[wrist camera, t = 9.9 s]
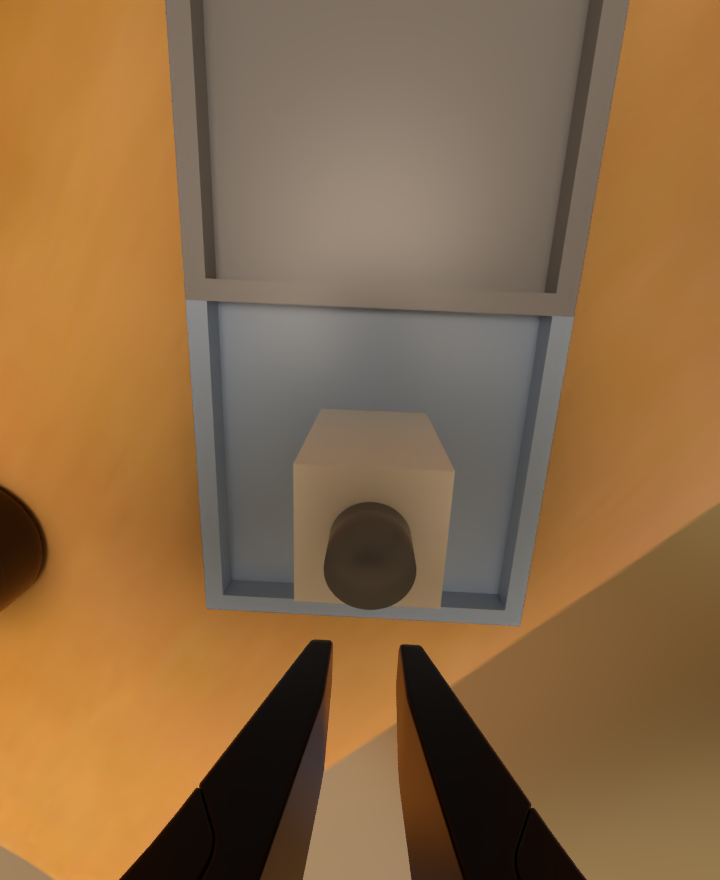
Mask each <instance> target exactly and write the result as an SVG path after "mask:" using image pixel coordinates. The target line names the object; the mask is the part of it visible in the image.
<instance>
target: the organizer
mask: <svg viewBox="0 0 720 880" xmlns="http://www.w3.org/2000/svg"><path fill="white" fill-rule="evenodd" d="M165 5H166V20H167V35H168V49H169V64H170V79H171V93H172V108H173V123H174V137H175V152H176V167H177V181H178V196H179V211H180V225H181V240H182V255H183V269H184V284H185V299H186V313H187V328H188V343H189V357H190V372H191V387H192V401H193V416H194V431H195V445H196V460H197V475H198V489H199V504H200V519H201V533H202V548H203V563H204V577H205V592H206V607H207V609H218V610H236V611H254V612H272V613H290V614H309V615H327V616H345V617H363V618H381V619H399V620H418V621H436V622H454V623H472V624H490V625H508V626H520V624H521V618H522V612H523V607H524V601H525V595H526V589H527V584H528V578H529V572H530V567H531V561H532V555H533V549H534V544H535V538H536V532H537V527H538V521H539V515H540V509H541V504H542V498H543V492H544V487H545V481H546V475H547V469H548V464H549V458H550V452H551V446H552V441H553V435H554V429H555V424H556V418H557V412H558V406H559V401H560V395H561V389H562V384H563V378H564V372H565V366H566V361H567V355H568V349H569V343H570V338H571V332H572V326H573V321H574V315H575V309H576V303H577V298H578V292H579V286H580V281H581V275H582V269H583V263H584V258H585V252H586V246H587V240H588V235H589V229H590V223H591V218H592V212H593V206H594V200H595V195H596V189H597V183H598V178H599V172H600V166H601V160H602V155H603V149H604V143H605V138H606V132H607V126H608V120H609V115H610V109H611V103H612V97H613V92H614V86H615V80H616V75H617V69H618V63H619V57H620V52H621V46H622V40H623V35H624V29H625V23H626V17H627V12H628V6H629V0H165ZM321 409H344V410H367V411H390V412H413V413H427V415H428V417H429V419H430V422H431V424H432V426H433V428H434V430H435V432H436V434H437V436H438V438H439V440H440V442H441V444H442V446H443V448H444V450H445V452H446V454H447V456H448V458H449V460H450V462H451V464H452V466H453V468H454V470H455V476H454V485H453V495H452V504H451V514H450V523H449V532H448V542H447V551H446V561H445V570H444V580H443V589H442V598H441V608H440V609H438V608H418V607H398V606H390V607H387V608H383V609H378V610H363V609H358V608H354V607H351V606H349V605H347V604H340V603H320V602H300V601H294V503H293V463H294V461H295V459H296V457H297V455H298V453H299V452H300V450H301V448H302V446H303V444H304V442H305V440H306V438H307V436H308V434H309V432H310V430H311V428H312V426H313V424H314V422H315V420H316V418H317V416H318V414H319V412H320V410H321Z"/></svg>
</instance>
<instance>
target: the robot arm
mask: <svg viewBox="0 0 720 880" xmlns="http://www.w3.org/2000/svg"><path fill="white" fill-rule="evenodd" d="M332 660H333V643H332V642H331V641H330V640H312V641H310V643H309V644H308V645H307V646H306V648H305V649H304V650H303V652H302V653H301V654H300V655H299V657H298V658H297V659H296V661H295V662H294V663H293V664H292V666H291V667H290V668H289V670H288V671H287V672H286V673H285V675H284V676H283V677H282V679H281V680H280V681H279V682H278V684H277V685H276V686H275V688H274V689H273V690H272V691H271V693H270V694H269V695H268V697H267V698H266V699H265V700H264V702H263V703H262V704H261V706H260V707H259V708H258V709H257V711H256V712H255V713H254V715H253V716H252V717H251V718H250V720H249V721H248V722H247V724H246V725H245V726H244V727H243V729H242V730H241V731H240V733H239V734H238V735H237V736H236V738H235V739H234V740H233V742H232V743H231V744H230V745H229V747H228V748H227V749H226V751H225V752H224V753H223V754H222V756H221V757H220V758H219V760H218V761H217V762H216V763H215V765H214V766H213V767H212V769H211V770H210V771H209V772H208V774H207V775H206V776H205V778H204V779H203V780H202V781H201V783H200V785H199V788H196V789H195V790H194V791H193V793H192V794H191V795H190V796H189V798H188V799H187V800H186V802H185V803H184V804H183V806H182V807H181V808H180V809H179V811H178V812H177V813H176V814H175V816H174V817H173V818H172V819H171V820H170V822H169V823H168V824H167V825H166V827H165V828H164V829H163V830H162V831H161V833H160V834H159V835H158V836H157V838H156V839H155V840H154V841H153V842H152V844H151V845H150V846H149V847H148V848H147V849H146V850H145V852H144V853H143V854H142V855H141V856H140V857H139V858H138V859H137V860H136V862H135V863H134V864H133V865H132V866H131V867H130V868H129V869H128V870H127V872H126V873H125V874H124V875H123V876H122V877H121V878H120V879H119V880H303V875H304V870H305V865H306V860H307V855H308V850H309V844H310V840H311V835H312V830H313V824H314V820H315V815H316V810H317V805H318V799H319V794H320V789H321V784H322V778H323V771H324V763H325V753H326V742H327V730H328V719H329V708H330V697H331V685H332ZM396 700H397V741H398V742H397V743H398V772H399V784H400V794H401V802H402V810H403V818H404V825H405V833H406V841H407V848H408V856H409V864H410V872H411V879H412V880H586V878H585V877H584V876H583V874H582V873H581V872H580V871H579V869H578V868H577V867H576V865H575V864H574V863H573V861H572V860H571V858H570V857H569V856H568V854H567V853H566V852H565V850H564V849H563V848H562V846H561V845H560V843H559V842H558V841H557V839H556V838H555V837H554V835H553V834H552V832H551V831H550V830H549V829H548V827H547V825H546V824H545V822H544V821H543V820H542V818H541V817H540V815H539V814H538V812H537V811H536V810H535V809H534V808H531V803H530V801H529V800H528V798H527V797H526V796H525V794H524V793H523V791H522V790H521V788H520V787H519V785H518V784H517V783H516V781H515V780H514V778H513V777H512V776H511V774H510V772H509V771H508V770H507V768H506V767H505V765H504V764H503V762H502V761H501V760H500V758H499V757H498V755H497V754H496V752H495V751H494V750H493V748H492V747H491V745H490V744H489V743H488V741H487V740H486V738H485V737H484V735H483V734H482V733H481V731H480V730H479V728H478V727H477V725H476V724H475V723H474V721H473V719H472V718H471V717H470V715H469V714H468V712H467V711H466V709H465V708H464V707H463V705H462V704H461V702H460V701H459V699H458V698H457V697H456V695H455V694H454V692H453V691H452V690H451V688H450V687H449V685H448V684H447V682H446V681H445V679H444V678H443V677H442V675H441V674H440V672H439V671H438V669H437V668H436V666H435V665H434V664H433V662H432V661H431V659H430V658H429V656H428V655H427V654H426V652H425V651H424V649H423V648H422V647H421V646H419V645H406V644H403V645H401V646H400V648H399V655H398V667H397V680H396Z"/></svg>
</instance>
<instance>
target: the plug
mask: <svg viewBox="0 0 720 880" xmlns="http://www.w3.org/2000/svg"><path fill="white" fill-rule="evenodd" d="M454 476H455V470H454V468H453V466H452V464H451V462H450V460H449V458H448V456H447V454H446V452H445V450H444V448H443V446H442V444H441V442H440V440H439V438H438V436H437V434H436V432H435V430H434V428H433V426H432V424H431V422H430V419H429V417H428V415H427V413H413V412H390V411H367V410H344V409H321V410H320V412H319V414H318V416H317V418H316V420H315V422H314V424H313V426H312V428H311V430H310V432H309V434H308V436H307V438H306V440H305V442H304V444H303V446H302V448H301V450H300V452H299V453H298V455H297V457H296V459H295V461H294V463H293V503H294V601H300V602H320V603H340V604H347V605H349V606H351V607H354V608H358V609H363V610H378V609H383V608H387V607H390V606H398V607H418V608H438V609H440V608H441V598H442V589H443V580H444V570H445V561H446V551H447V542H448V532H449V523H450V514H451V504H452V495H453V485H454Z"/></svg>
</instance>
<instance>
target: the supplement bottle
mask: <svg viewBox="0 0 720 880" xmlns="http://www.w3.org/2000/svg"><path fill="white" fill-rule="evenodd" d="M41 563H42V542H41V537H40V534H39V531H38V529H37V527H36V525H35V523H34V521H33V520H32V518H31V516H30V515H29V514H28V512H27V511H26V510H25V509H24V508H23V507H22V506H21V504H19V503H18V502H17V501H16V500H15V499H14V498H13V497H11V496H10V495H8V494H7V493H5V492H4V491H2V490H0V612H1V611H2V610H4V609H5V608H6V607H7V606H9V605H10V604H11V603H12V602H13V601H15V600H16V599H17V598H18V597H19V596H21V595H22V594H23V593H24V592H25V591H26V590H27V589H28V588H29V587H30V586H31V585H32V583H33V582H34V580H35V579H36V577H37V575H38V573H39V570H40V567H41Z"/></svg>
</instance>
